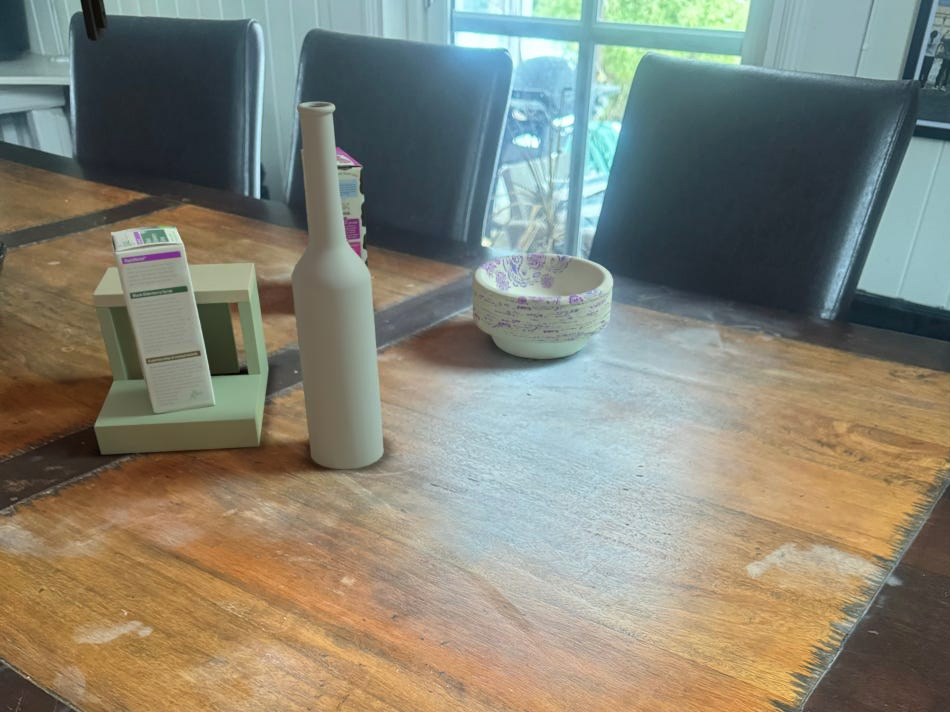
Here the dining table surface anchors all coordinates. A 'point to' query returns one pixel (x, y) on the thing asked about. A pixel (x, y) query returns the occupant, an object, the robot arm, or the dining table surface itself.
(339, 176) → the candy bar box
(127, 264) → the syrup box
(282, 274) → the dining table surface
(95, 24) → the robot arm
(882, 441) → the dining table surface
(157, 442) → the shelf
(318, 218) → the bottle
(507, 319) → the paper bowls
